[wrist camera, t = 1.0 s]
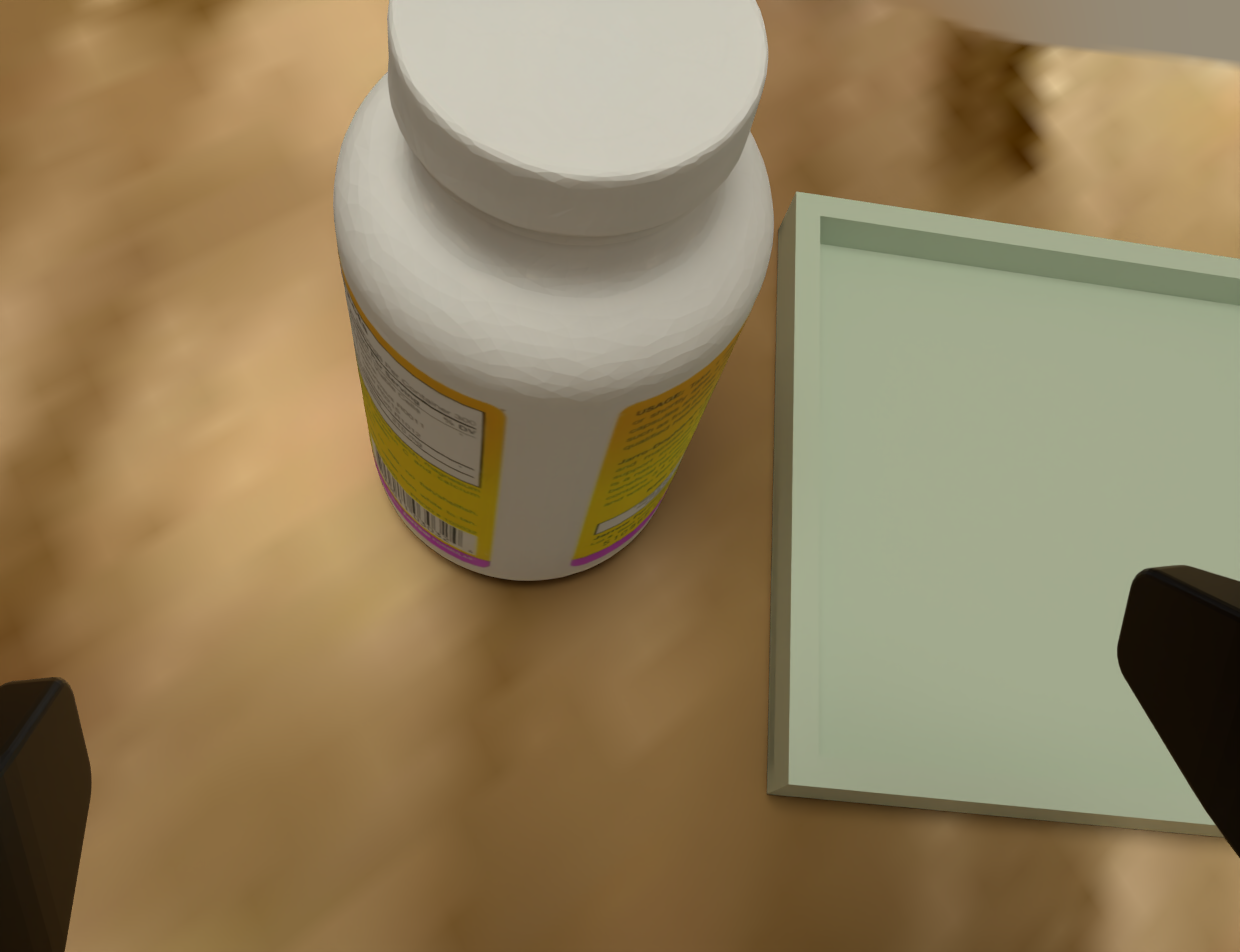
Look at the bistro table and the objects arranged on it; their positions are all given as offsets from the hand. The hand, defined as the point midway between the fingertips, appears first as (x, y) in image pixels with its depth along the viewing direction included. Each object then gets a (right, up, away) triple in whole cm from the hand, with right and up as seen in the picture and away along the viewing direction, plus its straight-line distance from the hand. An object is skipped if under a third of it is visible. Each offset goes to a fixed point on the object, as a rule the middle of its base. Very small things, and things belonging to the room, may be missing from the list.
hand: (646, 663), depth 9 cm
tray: (+10, +1, +17) cm, 20 cm away
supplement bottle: (-2, +2, +16) cm, 16 cm away
